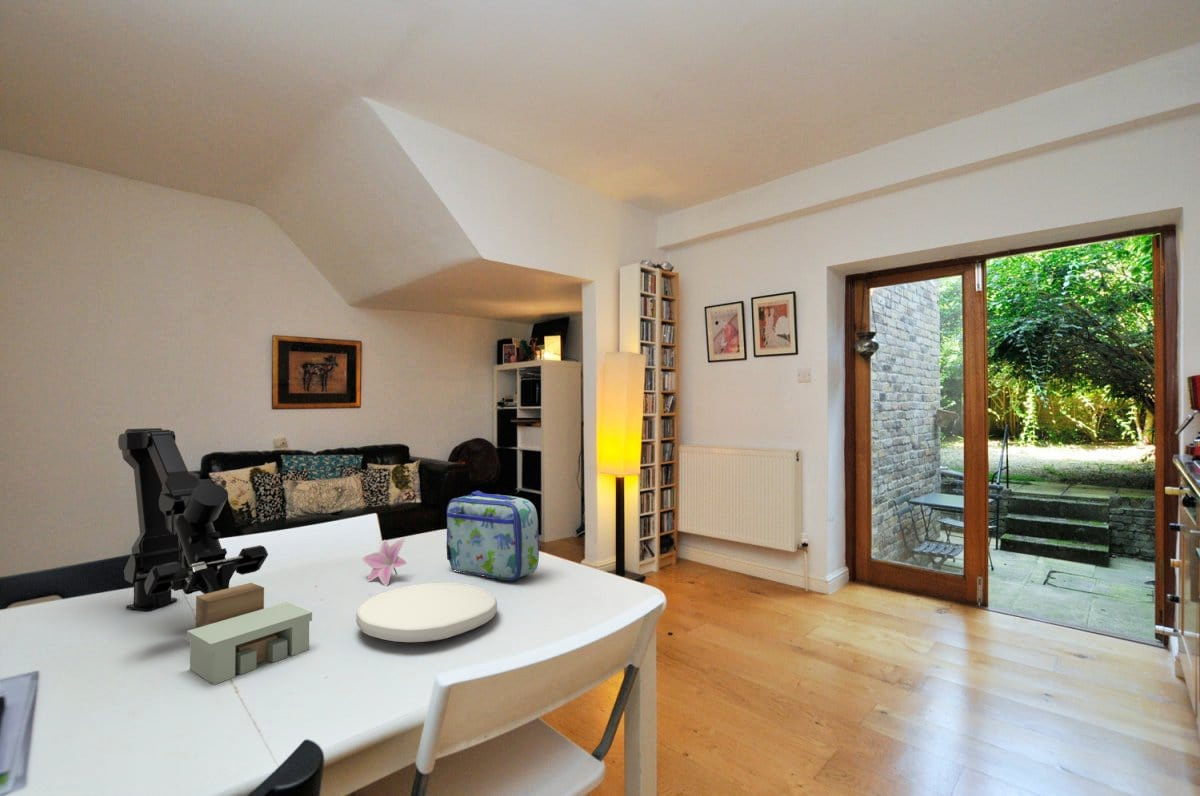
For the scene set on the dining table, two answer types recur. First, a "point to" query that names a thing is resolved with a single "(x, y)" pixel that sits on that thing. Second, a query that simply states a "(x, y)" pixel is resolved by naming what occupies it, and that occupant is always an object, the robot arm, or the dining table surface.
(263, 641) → the rectangular block
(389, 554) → the lily
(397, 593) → the cream round disc
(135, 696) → the dining table surface
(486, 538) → the lunch box
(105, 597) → the dining table surface
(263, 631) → the green miniature desk
